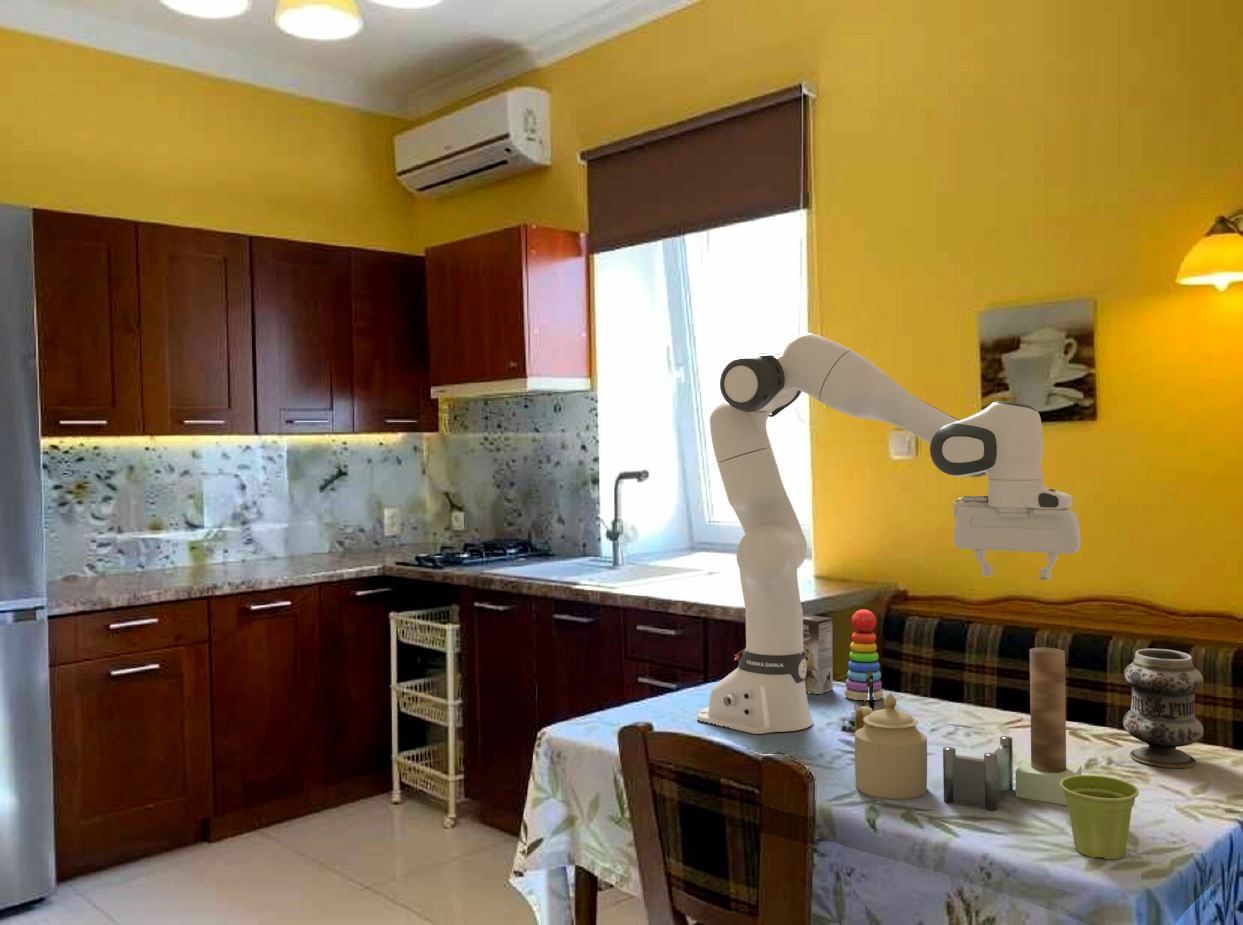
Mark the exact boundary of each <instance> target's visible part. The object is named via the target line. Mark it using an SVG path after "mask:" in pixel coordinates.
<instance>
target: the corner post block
mask: <svg viewBox="0 0 1243 925" xmlns="http://www.w3.org/2000/svg"><path fill="white" fill-rule="evenodd" d="M1013 749H1014V748H1013V737H1012V736H1008V735H1001V736H999V747H997V749H996V750H994V751H993V752H985V753H983V758H978V757H972V756H964V755H957V754H956V747H951V746H945V747H942V759H943V760H942V762H943V763H942V766H943V767H942V769H943V771H942V772H943V773H942V774H943V776H942V777H943V780H942V782H943V802H944V803H946V804H953V805H955V804H956V805H959V806H965V807H966V806H967V807H973V808H976V809H977V808H978V809H982V810H983V809H984V810H987V811H995V812H996V811H997V810H998V806H999V805H1000V804H1001V803H1002V801H1003V800H1004V799H1005V798H1006V796H1008V793H1010V792H1012V791H1013V790H1014V778H1013V777H1014V776H1013V775H1014V774H1013V772H1014V771H1013V770H1014V765H1013V763H1014V762H1013V761H1014V760H1013V758H1014V757H1013V756H1014V754H1013V752H1014V751H1013Z"/></svg>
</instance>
